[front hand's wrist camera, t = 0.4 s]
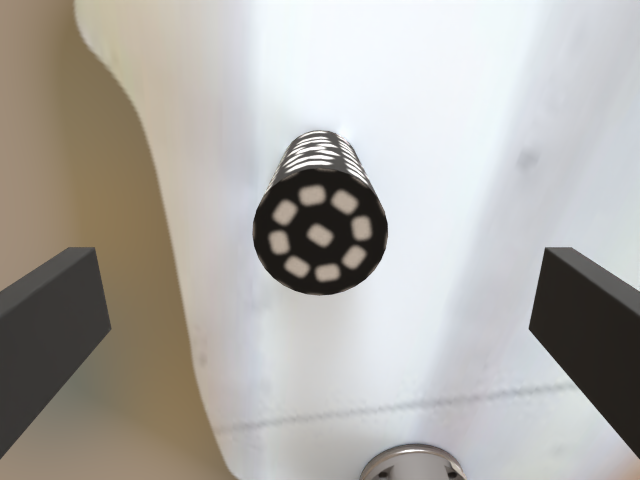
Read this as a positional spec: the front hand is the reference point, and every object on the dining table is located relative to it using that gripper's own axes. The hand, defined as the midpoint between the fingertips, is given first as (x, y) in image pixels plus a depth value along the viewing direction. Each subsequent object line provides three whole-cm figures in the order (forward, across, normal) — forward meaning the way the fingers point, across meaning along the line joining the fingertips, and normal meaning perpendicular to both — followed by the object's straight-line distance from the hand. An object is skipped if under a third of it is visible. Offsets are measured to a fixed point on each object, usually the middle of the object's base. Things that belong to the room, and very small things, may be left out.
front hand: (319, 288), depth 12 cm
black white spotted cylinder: (+23, 0, +3) cm, 23 cm away
